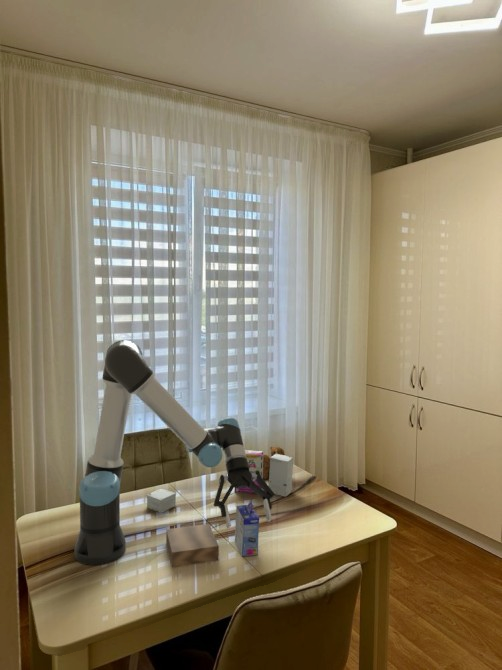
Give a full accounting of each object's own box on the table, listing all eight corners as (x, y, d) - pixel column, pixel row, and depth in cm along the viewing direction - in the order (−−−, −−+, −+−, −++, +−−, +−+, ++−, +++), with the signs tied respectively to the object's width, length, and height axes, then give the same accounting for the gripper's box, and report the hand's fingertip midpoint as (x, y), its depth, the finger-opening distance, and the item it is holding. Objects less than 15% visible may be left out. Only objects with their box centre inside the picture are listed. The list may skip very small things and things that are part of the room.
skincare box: (268, 492, 191) (268, 457, 189) (274, 487, 196) (274, 452, 195) (287, 497, 187) (287, 461, 186) (292, 491, 192) (293, 456, 191)
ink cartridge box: (259, 555, 145) (260, 510, 144) (241, 557, 144) (242, 512, 143) (250, 539, 155) (251, 496, 154) (234, 541, 153) (235, 498, 152)
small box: (176, 506, 178) (176, 493, 178) (160, 513, 172) (160, 500, 171) (161, 500, 183) (161, 487, 182) (146, 507, 176) (146, 494, 176)
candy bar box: (234, 492, 191) (234, 453, 189) (235, 487, 195) (236, 449, 194) (261, 494, 189) (262, 454, 188) (262, 489, 194) (263, 450, 193)
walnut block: (172, 568, 138) (172, 552, 138) (166, 544, 151) (166, 529, 151) (218, 561, 142) (218, 545, 142) (209, 538, 156) (209, 523, 155)
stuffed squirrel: (290, 480, 205) (291, 450, 203) (258, 482, 201) (259, 452, 200) (283, 471, 214) (284, 443, 213) (253, 473, 211) (254, 445, 210)
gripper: (267, 461, 168) (282, 521, 156) (198, 469, 160) (209, 533, 147) (272, 452, 163) (289, 513, 150) (202, 460, 155) (213, 525, 142)
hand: (249, 523), depth 149 cm, fingers open, 13 cm apart
